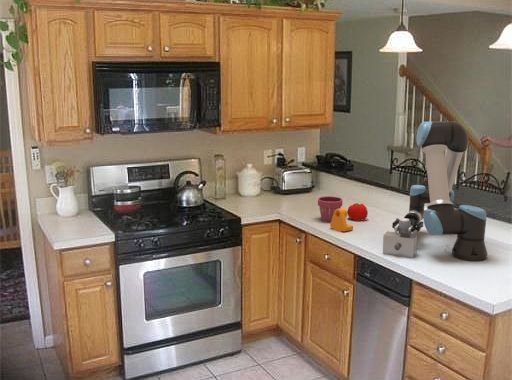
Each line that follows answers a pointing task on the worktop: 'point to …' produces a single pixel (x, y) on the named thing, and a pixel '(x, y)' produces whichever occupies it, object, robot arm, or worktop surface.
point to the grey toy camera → (400, 243)
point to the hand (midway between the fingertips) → (402, 231)
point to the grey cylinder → (404, 224)
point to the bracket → (340, 220)
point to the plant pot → (328, 206)
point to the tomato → (357, 212)
